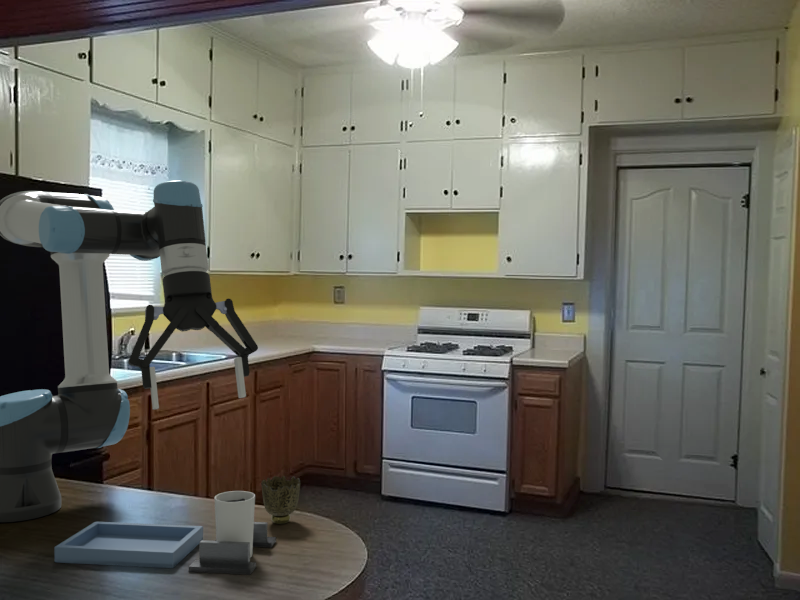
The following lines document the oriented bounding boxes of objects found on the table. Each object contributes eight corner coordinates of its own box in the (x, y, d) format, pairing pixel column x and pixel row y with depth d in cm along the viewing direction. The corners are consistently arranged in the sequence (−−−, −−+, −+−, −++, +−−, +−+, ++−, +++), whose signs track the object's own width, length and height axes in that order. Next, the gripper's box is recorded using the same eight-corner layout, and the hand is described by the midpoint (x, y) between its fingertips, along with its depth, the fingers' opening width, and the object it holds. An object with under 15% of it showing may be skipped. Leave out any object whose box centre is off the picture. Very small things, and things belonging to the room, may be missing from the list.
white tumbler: (232, 546, 129) (232, 488, 129) (263, 552, 126) (263, 494, 126) (205, 558, 124) (205, 498, 123) (237, 566, 120) (237, 504, 120)
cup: (254, 526, 140) (254, 483, 140) (271, 514, 147) (271, 474, 147) (290, 530, 138) (291, 487, 138) (306, 518, 145) (306, 477, 145)
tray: (95, 535, 134) (95, 521, 134) (202, 540, 132) (202, 526, 132) (54, 562, 121) (54, 547, 121) (172, 568, 119) (172, 552, 119)
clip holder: (221, 539, 133) (221, 516, 133) (276, 541, 132) (276, 519, 132) (188, 571, 118) (188, 546, 118) (250, 574, 117) (250, 549, 117)
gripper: (105, 274, 115) (118, 412, 112) (265, 264, 125) (281, 391, 122) (104, 284, 122) (116, 415, 118) (256, 274, 131) (271, 394, 128)
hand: (200, 403), depth 120 cm, fingers open, 13 cm apart
